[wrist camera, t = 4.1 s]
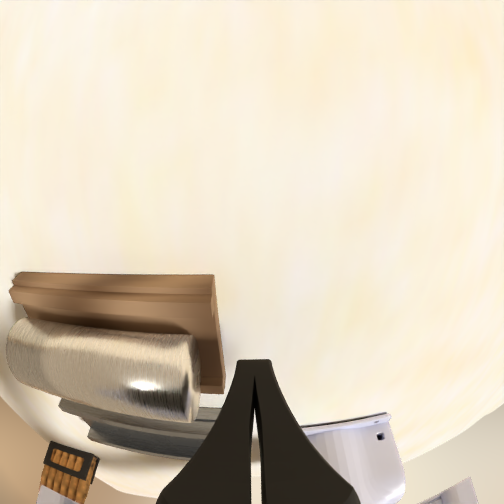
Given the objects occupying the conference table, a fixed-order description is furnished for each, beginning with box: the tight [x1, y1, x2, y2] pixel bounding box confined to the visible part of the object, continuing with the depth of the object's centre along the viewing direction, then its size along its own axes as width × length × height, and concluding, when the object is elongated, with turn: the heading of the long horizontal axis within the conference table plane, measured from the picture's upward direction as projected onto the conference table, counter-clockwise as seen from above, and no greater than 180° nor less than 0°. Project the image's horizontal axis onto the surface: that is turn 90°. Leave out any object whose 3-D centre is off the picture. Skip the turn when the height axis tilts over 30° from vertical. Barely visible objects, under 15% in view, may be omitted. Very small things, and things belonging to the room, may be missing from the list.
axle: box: [6, 317, 201, 423], centre depth 11 cm, size 10×4×4 cm, turn 91°
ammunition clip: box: [39, 441, 100, 504], centre depth 22 cm, size 11×2×12 cm, turn 102°
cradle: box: [58, 398, 222, 460], centre depth 17 cm, size 14×7×2 cm, turn 91°
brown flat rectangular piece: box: [9, 272, 226, 394], centre depth 13 cm, size 12×7×2 cm, turn 91°
